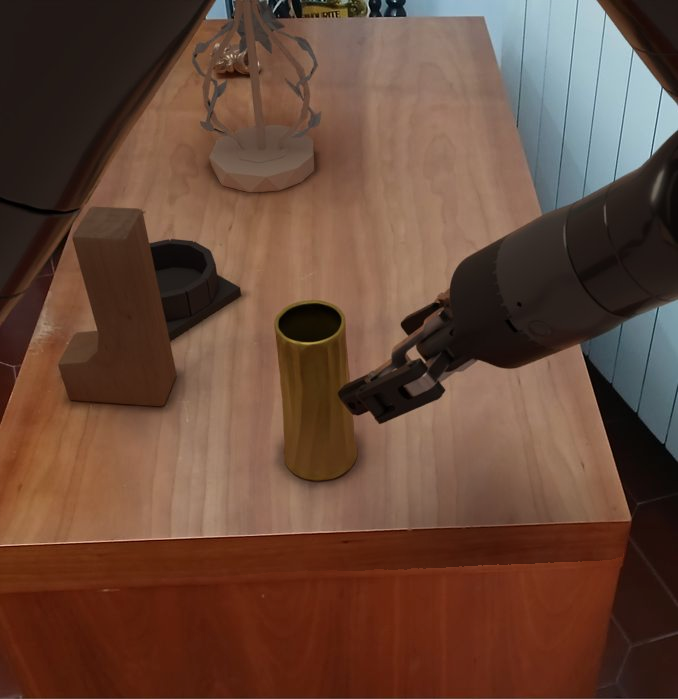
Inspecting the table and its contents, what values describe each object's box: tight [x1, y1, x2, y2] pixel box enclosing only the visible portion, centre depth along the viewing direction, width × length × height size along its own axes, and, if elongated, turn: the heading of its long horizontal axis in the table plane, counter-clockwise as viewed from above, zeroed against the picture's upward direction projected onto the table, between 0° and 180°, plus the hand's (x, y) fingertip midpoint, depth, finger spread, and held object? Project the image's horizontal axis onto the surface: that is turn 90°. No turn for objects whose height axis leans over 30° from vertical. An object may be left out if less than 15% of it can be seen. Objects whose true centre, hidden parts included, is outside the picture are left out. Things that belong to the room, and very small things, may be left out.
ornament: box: [209, 41, 262, 75], centre depth 132 cm, size 8×7×4 cm
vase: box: [274, 299, 358, 482], centre depth 72 cm, size 6×6×14 cm
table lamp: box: [191, 0, 322, 194], centre depth 100 cm, size 22×22×40 cm
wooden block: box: [57, 206, 177, 407], centre depth 78 cm, size 9×4×18 cm, turn 82°
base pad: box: [149, 238, 242, 342], centre depth 92 cm, size 10×10×4 cm
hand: (379, 365), depth 66 cm, fingers open, 8 cm apart
